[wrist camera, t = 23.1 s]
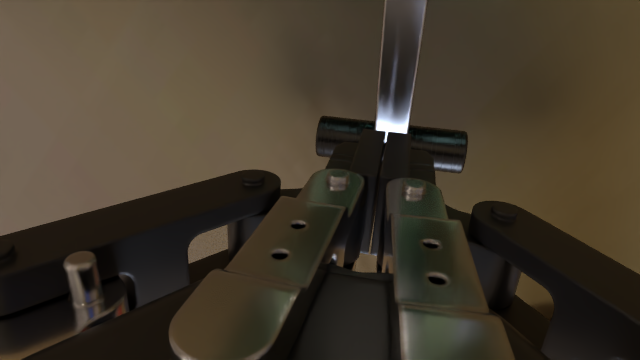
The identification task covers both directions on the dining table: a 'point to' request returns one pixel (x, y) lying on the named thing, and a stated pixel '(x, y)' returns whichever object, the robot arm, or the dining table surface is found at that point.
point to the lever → (398, 94)
